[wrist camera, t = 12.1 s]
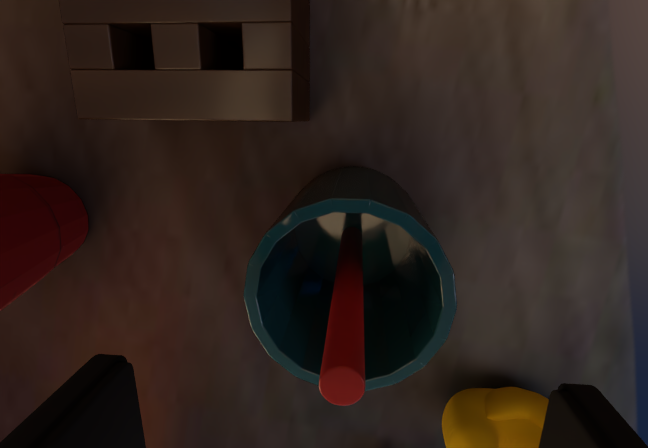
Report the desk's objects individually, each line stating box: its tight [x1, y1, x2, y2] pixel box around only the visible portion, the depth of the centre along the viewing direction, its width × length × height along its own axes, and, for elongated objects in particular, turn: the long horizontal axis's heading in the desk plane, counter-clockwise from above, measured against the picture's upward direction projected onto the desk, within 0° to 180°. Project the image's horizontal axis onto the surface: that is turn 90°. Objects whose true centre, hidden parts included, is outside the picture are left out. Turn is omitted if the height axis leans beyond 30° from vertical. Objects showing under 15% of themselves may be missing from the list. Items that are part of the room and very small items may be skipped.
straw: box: [319, 227, 365, 406], centre depth 17 cm, size 1×1×14 cm
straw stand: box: [59, 0, 310, 122], centre depth 19 cm, size 10×10×6 cm
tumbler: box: [244, 166, 457, 391], centre depth 20 cm, size 8×8×10 cm
